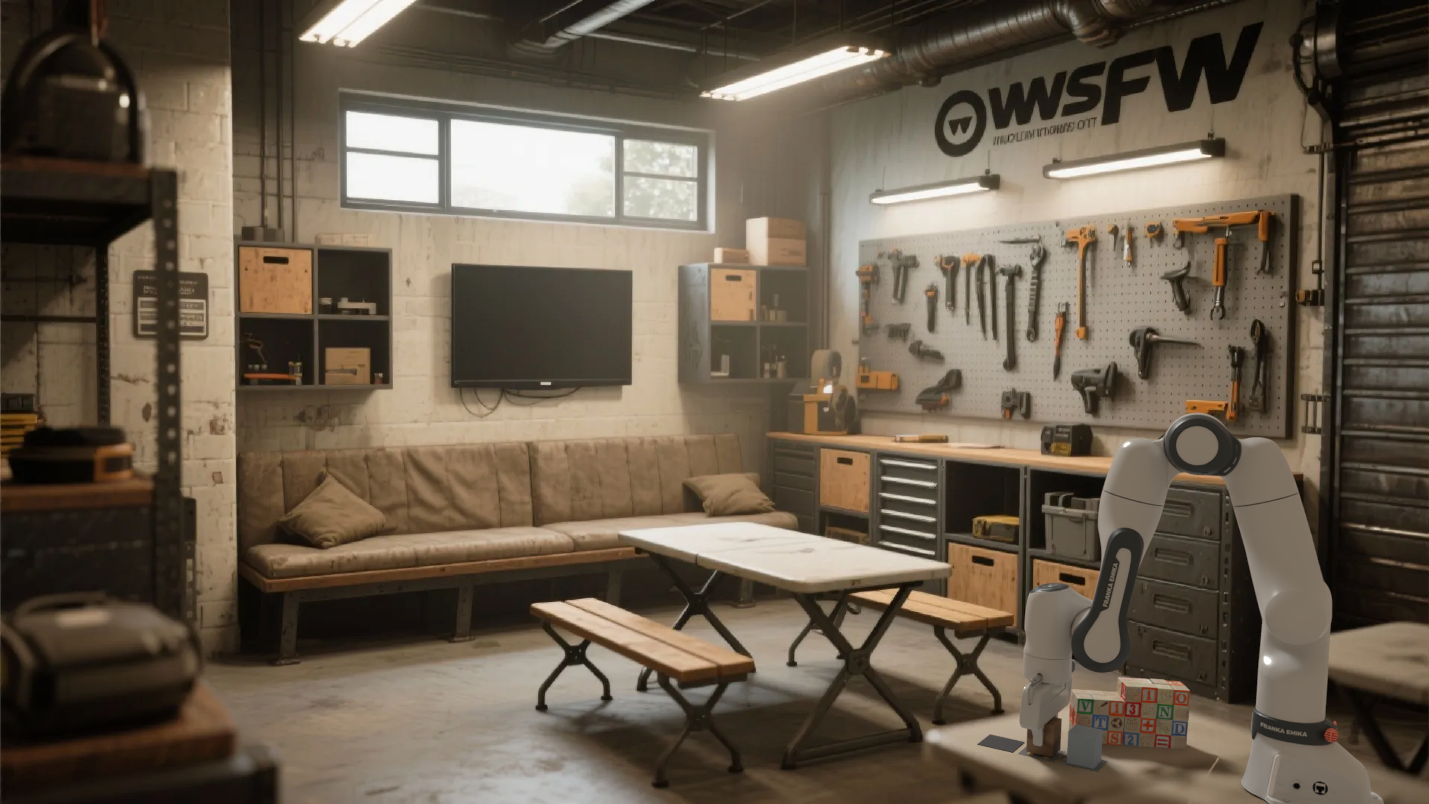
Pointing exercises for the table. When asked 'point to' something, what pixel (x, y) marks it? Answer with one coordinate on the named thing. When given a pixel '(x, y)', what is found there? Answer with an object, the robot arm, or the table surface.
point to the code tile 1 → (1042, 755)
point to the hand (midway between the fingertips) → (1043, 740)
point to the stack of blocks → (1135, 712)
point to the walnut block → (1047, 739)
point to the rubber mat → (1001, 743)
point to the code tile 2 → (1086, 767)
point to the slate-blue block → (1084, 746)
